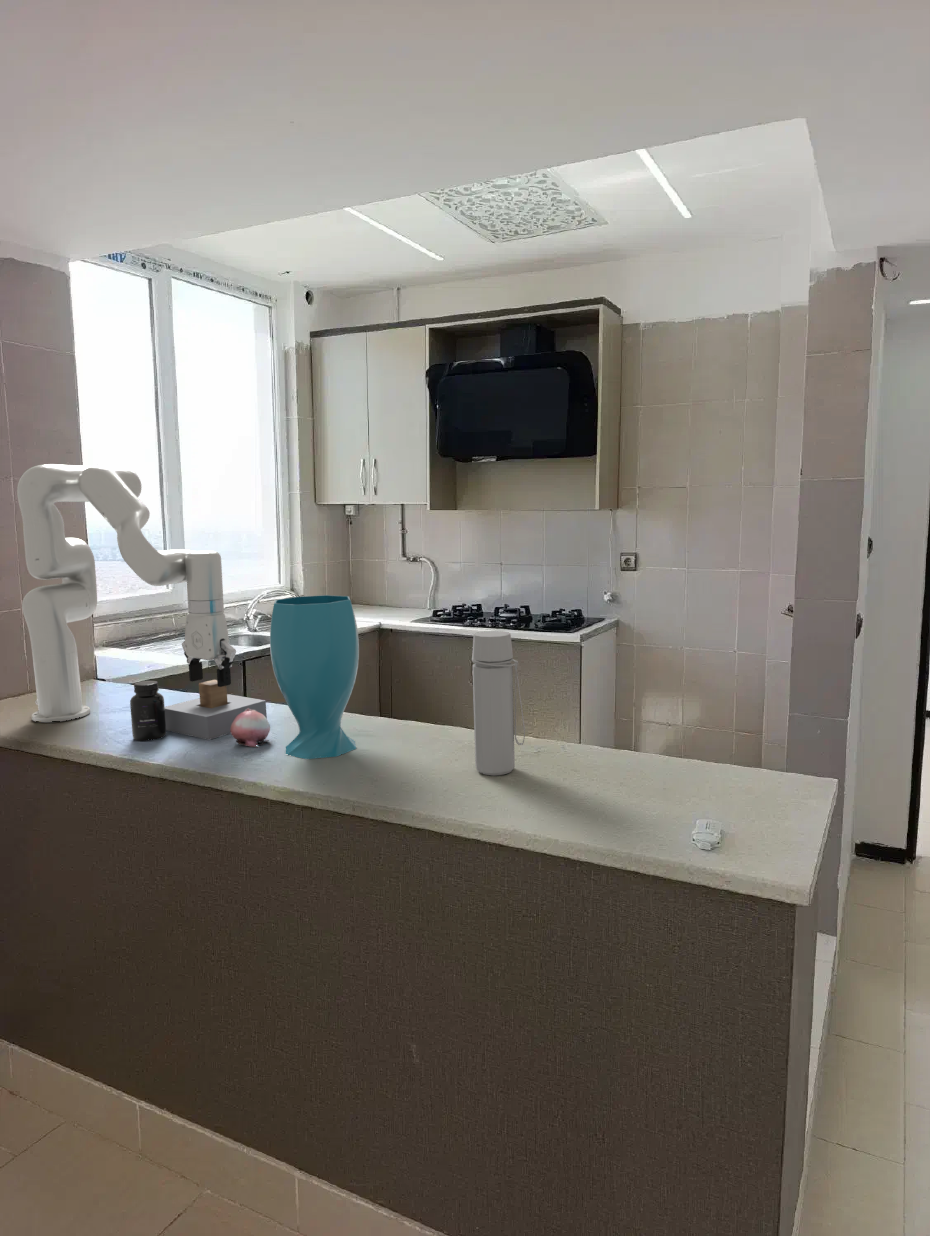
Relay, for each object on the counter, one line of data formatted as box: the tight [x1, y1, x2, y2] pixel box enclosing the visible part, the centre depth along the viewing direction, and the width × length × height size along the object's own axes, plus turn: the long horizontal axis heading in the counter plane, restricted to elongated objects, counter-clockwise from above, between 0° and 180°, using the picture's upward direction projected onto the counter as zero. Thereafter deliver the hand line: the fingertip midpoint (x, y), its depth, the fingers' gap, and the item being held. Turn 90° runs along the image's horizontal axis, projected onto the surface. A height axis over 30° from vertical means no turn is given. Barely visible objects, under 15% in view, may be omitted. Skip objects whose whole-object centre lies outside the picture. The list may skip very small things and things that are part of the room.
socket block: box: [165, 693, 268, 741], centre depth 181 cm, size 16×16×5 cm
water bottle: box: [471, 630, 526, 777], centre depth 143 cm, size 9×8×25 cm
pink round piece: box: [230, 709, 271, 748], centre depth 166 cm, size 8×8×7 cm
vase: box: [269, 594, 360, 760], centre depth 160 cm, size 17×17×30 cm
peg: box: [198, 679, 228, 708], centre depth 180 cm, size 4×4×10 cm
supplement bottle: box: [129, 680, 167, 742], centre depth 173 cm, size 7×7×12 cm
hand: (210, 683), depth 180 cm, fingers open, 9 cm apart
